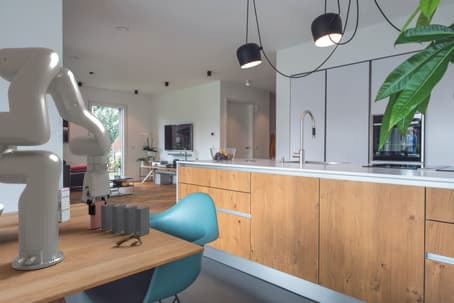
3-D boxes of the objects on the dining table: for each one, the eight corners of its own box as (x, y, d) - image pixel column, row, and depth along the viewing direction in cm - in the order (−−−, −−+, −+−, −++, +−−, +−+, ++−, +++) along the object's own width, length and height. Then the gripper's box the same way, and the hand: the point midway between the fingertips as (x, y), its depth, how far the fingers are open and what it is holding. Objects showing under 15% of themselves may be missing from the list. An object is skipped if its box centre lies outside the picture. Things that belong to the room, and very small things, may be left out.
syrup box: (70, 219, 131) (70, 187, 130) (61, 222, 125) (61, 189, 125) (58, 218, 131) (58, 187, 131) (49, 222, 125) (48, 188, 125)
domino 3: (126, 230, 114) (126, 204, 113) (117, 233, 109) (116, 207, 109) (121, 229, 115) (121, 204, 114) (112, 232, 110) (111, 206, 110)
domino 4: (137, 231, 112) (137, 205, 111) (128, 235, 107) (128, 208, 107) (132, 230, 112) (132, 205, 112) (123, 234, 108) (123, 207, 108)
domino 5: (149, 233, 109) (149, 206, 109) (140, 236, 105) (140, 209, 105) (144, 232, 110) (144, 206, 110) (135, 236, 106) (135, 208, 106)
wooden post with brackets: (144, 242, 96) (138, 230, 96) (121, 254, 94) (115, 242, 94) (144, 241, 98) (138, 229, 97) (121, 252, 96) (115, 240, 95)
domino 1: (104, 225, 118) (104, 200, 118) (95, 228, 113) (94, 203, 113) (100, 224, 119) (100, 200, 119) (90, 227, 114) (90, 202, 114)
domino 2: (115, 228, 116) (115, 203, 116) (105, 231, 111) (105, 206, 111) (110, 227, 117) (110, 203, 116) (101, 231, 112) (100, 205, 112)
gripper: (106, 166, 125) (106, 208, 125) (71, 169, 109) (72, 217, 109) (120, 166, 122) (120, 209, 122) (86, 170, 106) (87, 219, 107)
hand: (97, 213), depth 116 cm, fingers closed on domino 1, 4 cm apart
